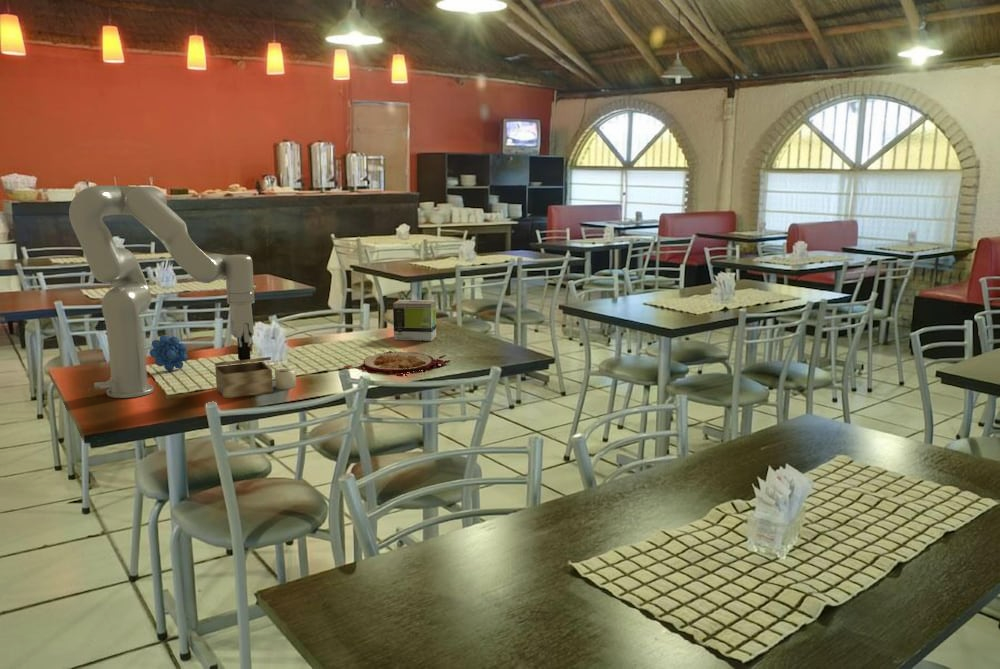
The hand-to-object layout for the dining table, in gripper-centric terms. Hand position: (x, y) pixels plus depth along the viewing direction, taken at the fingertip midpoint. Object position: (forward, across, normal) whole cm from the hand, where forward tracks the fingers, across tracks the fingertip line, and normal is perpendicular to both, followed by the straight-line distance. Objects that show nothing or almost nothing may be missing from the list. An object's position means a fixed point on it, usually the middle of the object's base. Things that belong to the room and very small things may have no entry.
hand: (244, 359), depth 239 cm
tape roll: (+10, -1, +12) cm, 16 cm away
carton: (+10, -2, 0) cm, 10 cm away
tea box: (+10, -48, +75) cm, 90 cm away
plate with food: (+11, -10, +52) cm, 54 cm away
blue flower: (+10, -37, -16) cm, 41 cm away
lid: (+1, -2, 0) cm, 2 cm away
